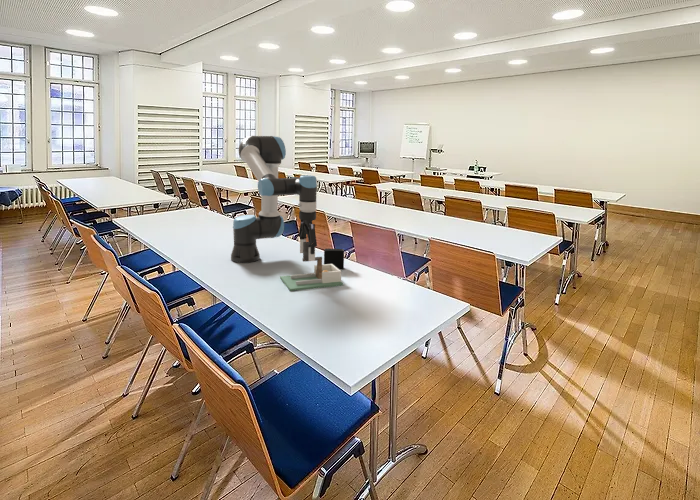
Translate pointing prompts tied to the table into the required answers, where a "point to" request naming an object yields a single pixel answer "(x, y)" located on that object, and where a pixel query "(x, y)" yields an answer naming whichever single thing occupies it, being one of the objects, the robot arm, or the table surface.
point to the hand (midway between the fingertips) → (307, 256)
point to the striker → (318, 259)
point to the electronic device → (334, 257)
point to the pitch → (314, 279)
